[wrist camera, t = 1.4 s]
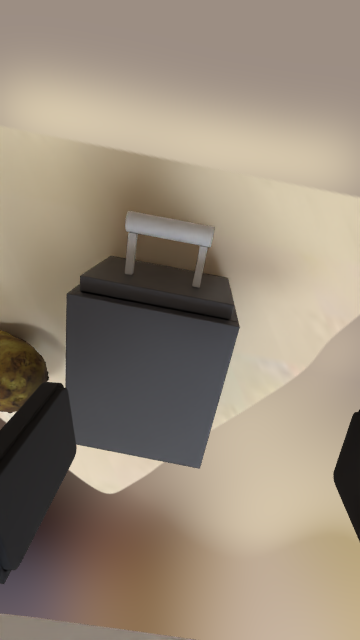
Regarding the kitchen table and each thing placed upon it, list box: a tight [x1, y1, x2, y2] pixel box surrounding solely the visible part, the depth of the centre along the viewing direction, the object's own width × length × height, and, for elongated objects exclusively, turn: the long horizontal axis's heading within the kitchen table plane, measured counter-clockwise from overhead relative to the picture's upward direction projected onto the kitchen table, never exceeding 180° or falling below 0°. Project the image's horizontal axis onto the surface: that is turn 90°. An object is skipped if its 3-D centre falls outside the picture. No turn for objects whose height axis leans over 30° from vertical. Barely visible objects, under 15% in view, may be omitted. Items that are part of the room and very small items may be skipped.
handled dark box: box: [80, 211, 234, 319], centre depth 26 cm, size 18×11×7 cm, turn 170°
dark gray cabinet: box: [66, 284, 240, 468], centre depth 28 cm, size 15×13×9 cm
